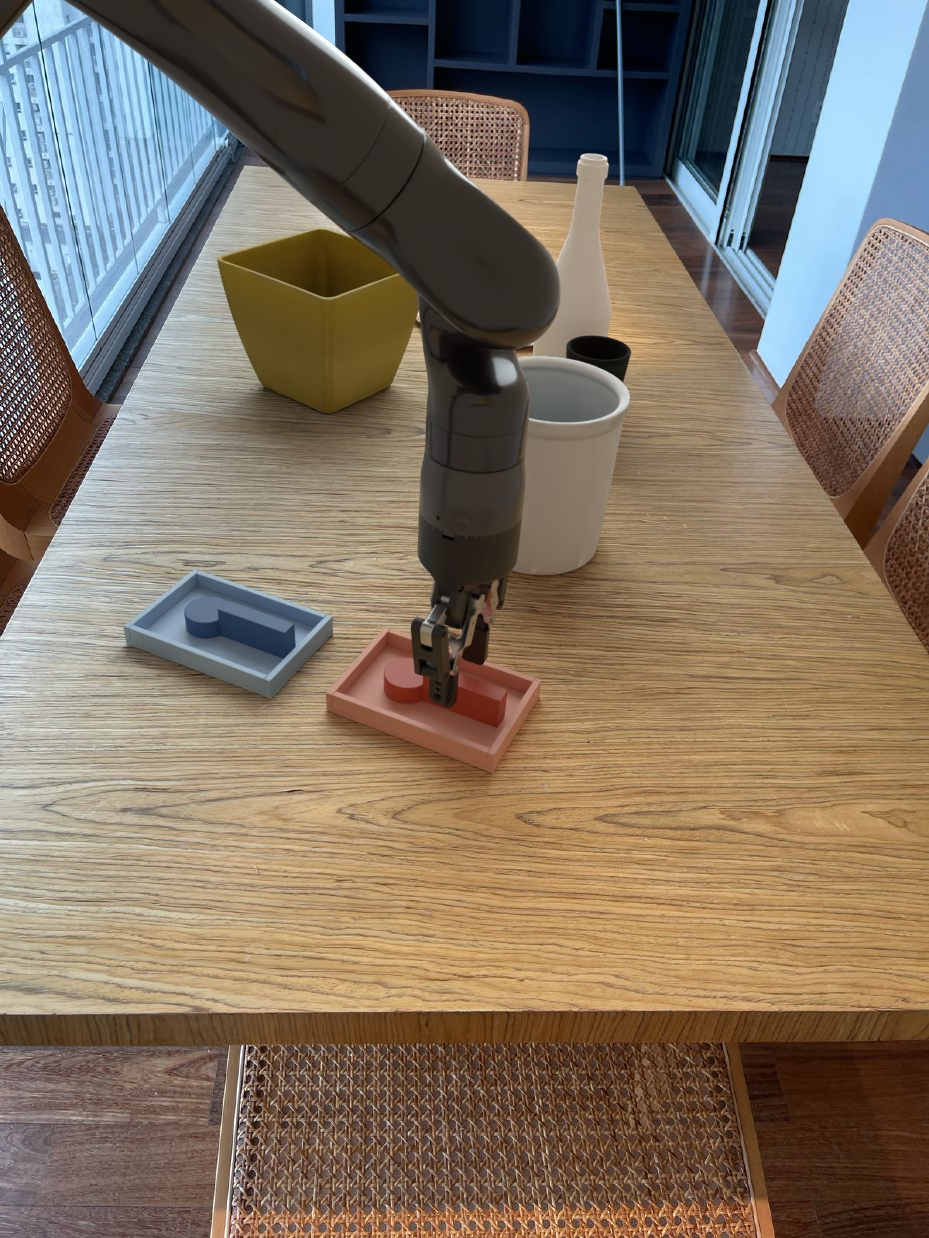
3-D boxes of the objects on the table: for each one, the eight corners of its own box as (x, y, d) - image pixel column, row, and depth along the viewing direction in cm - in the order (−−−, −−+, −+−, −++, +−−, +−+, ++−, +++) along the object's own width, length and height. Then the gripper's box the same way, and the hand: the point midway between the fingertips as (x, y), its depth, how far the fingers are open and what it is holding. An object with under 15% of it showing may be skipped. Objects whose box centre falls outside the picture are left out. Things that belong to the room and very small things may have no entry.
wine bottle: (610, 392, 137) (647, 157, 119) (578, 416, 131) (612, 171, 112) (550, 373, 141) (577, 143, 123) (515, 395, 134) (539, 156, 116)
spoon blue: (303, 642, 90) (302, 616, 88) (278, 667, 87) (277, 641, 85) (203, 607, 93) (200, 580, 91) (176, 630, 90) (173, 603, 88)
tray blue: (333, 633, 92) (332, 616, 91) (271, 699, 84) (269, 681, 83) (196, 585, 97) (194, 568, 95) (126, 643, 89) (122, 626, 88)
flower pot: (428, 386, 135) (433, 260, 125) (331, 433, 123) (328, 299, 112) (324, 346, 144) (321, 226, 133) (224, 387, 131) (212, 258, 121)
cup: (542, 435, 126) (553, 344, 118) (583, 419, 130) (596, 330, 123) (587, 459, 121) (601, 366, 114) (628, 442, 126) (644, 351, 118)
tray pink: (539, 697, 87) (541, 679, 85) (492, 773, 79) (494, 755, 78) (384, 643, 91) (384, 626, 90) (326, 710, 84) (325, 692, 83)
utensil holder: (622, 575, 102) (652, 419, 91) (480, 585, 99) (494, 425, 89) (580, 501, 113) (603, 354, 103) (452, 508, 111) (461, 357, 100)
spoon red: (510, 707, 85) (513, 681, 83) (491, 737, 82) (494, 710, 80) (397, 667, 88) (397, 641, 86) (375, 694, 85) (375, 667, 83)
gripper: (465, 450, 79) (454, 621, 89) (377, 537, 68) (375, 719, 78) (554, 475, 76) (532, 647, 87) (477, 568, 66) (462, 751, 76)
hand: (458, 680), depth 82 cm, fingers open, 5 cm apart
